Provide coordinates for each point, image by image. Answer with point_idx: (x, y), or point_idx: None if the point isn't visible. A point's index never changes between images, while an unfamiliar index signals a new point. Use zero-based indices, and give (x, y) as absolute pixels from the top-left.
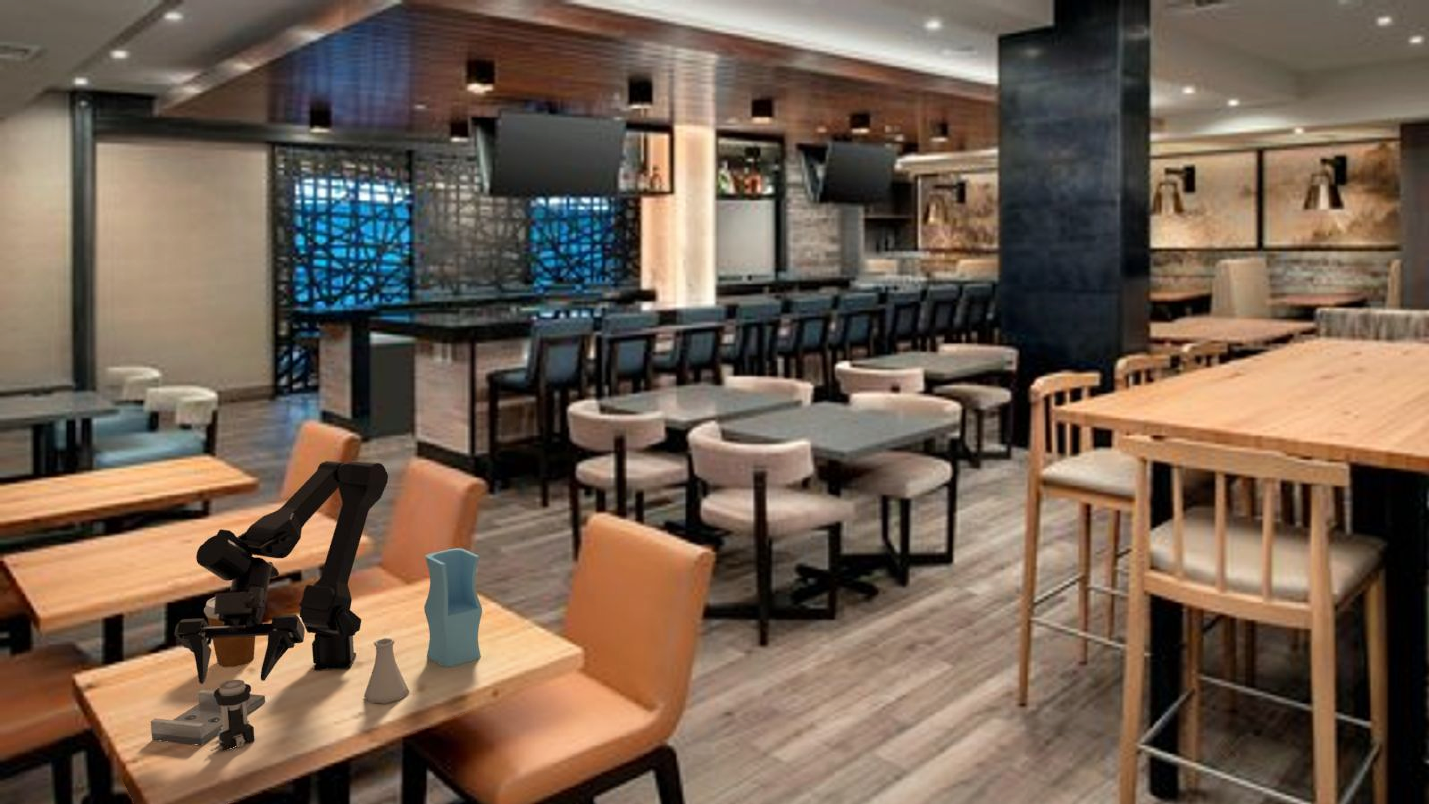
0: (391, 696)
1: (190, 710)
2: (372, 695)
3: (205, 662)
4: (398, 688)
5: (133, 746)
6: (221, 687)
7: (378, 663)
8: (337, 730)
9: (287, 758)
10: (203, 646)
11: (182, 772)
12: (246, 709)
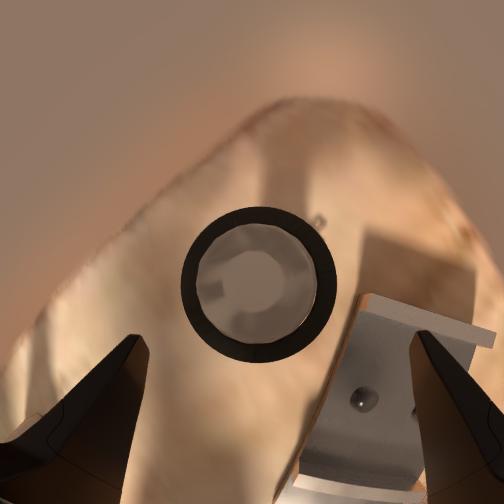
0: (26, 421)
1: None
2: None
3: (442, 439)
4: (15, 430)
5: (492, 302)
6: (293, 246)
7: None
8: (78, 327)
9: (142, 212)
10: (489, 488)
11: (347, 169)
12: (298, 457)
